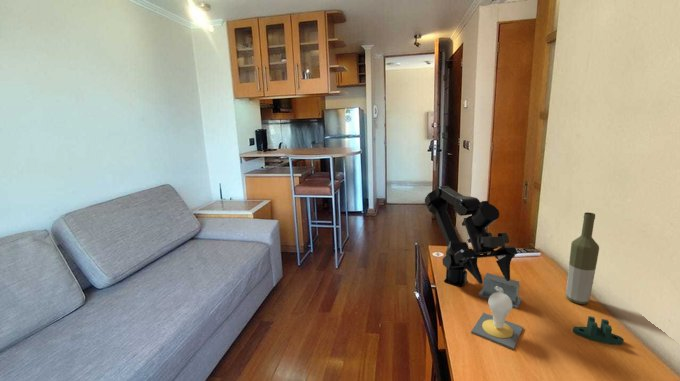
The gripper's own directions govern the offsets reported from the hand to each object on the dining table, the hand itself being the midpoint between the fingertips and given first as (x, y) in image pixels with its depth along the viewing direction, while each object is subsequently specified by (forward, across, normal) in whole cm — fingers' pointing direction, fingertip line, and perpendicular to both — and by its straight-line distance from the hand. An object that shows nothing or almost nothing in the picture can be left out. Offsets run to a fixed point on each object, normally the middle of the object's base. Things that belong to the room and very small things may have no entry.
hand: (495, 282), depth 93 cm
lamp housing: (+3, +10, +14) cm, 18 cm away
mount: (+18, +23, -3) cm, 29 cm away
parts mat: (+13, -2, +4) cm, 14 cm away
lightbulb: (+12, -1, +4) cm, 13 cm away
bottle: (+7, +34, +8) cm, 35 cm away
